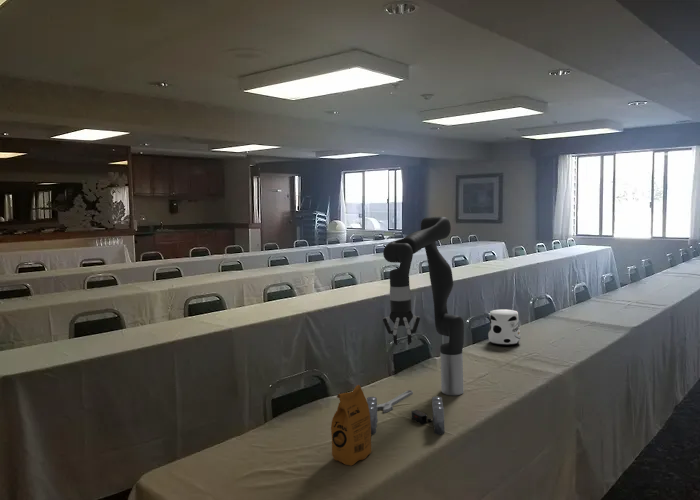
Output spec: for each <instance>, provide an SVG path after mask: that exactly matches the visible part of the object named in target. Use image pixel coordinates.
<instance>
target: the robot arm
mask: <svg viewBox="0 0 700 500" xmlns="http://www.w3.org/2000/svg"><path fill="white" fill-rule="evenodd" d="M451 229H452V228H451V223H450V220H449V218H448V217H445V216H430V217H423V218H422V220H421V222H420V230H417V231H414V232H412V233H409V234H408V235H406V236H404V237H403V238H400V239H397V240H396V239H395V240H393V241H391V242H389V243H388V244H386V245H385V246H384V249H383V255H382V256H383V258H384V260H385V261H387V262H389V263H394V264H395V263H398V264H399V266H398V268H394V269H391V270H390V272H389V304H390V314H389V315H388V316H383V318H382V322H383V324H384V327H385V329H386V332H387V333H388V334H390V335H392V337H393V338H392V339H393V344H394V345H395V346H399V345H398V334H397V333H398V328H399V327H401V326H402V327H405V329H406V332H407V346H410V345H411V343H412V335H413V334H415V333H417V331H418V327H419V323H420V320H421V317H420V315H417V316H416V315H415V314H413V313H412V295H411V287H410V286H411V285H410V271H411V266H412V261H413V256H414V254H416V253H417V252H419V251H421V250H422V249H424V251H425V253H426V260H427V266H428V267H427V268H428V274H429V280H430V286H431V291H432V299H433V308H434V309H433V312H434V327H435V330H436V332H437V333H438V334H439V335H441V336H443V337H449V338H448V339H449V340H448V342H446V343H442V344H441V345H440V348H439V349H440V350H439V351H440V353H439V354H440V381H441V382H440V384H441V385H440V386H441V393H442V394H443V395H447V396H459V395H462V394H464V361H463V359H464V358H463V357H464V356H463V348H464V346H465V345H464V343H465V340H464V339H465V323H464V319H463V318H462V316H460V315H456V314H450V313H449V312H448V300H449V297H450V294H451V292H452V290H453V287H454V279H453V272H452V268H451V265H450V264H449V262H448V261H447V260H446V259H445V257H444V256H443V255H442V254H441V252H440V250H439V249H438V247H437V243H436V242H438V241H441V240H444V239H446V238H448V237H449V236H450V234H451ZM412 319H413V322H414V324H413V327H412V328H411V326H410V324H409V323H410V322H411V321H412ZM390 320H391V322H393V329H392V328H391V326H390V324H389V323H390Z"/></svg>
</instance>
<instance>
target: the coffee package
mask: <svg viewBox="0 0 700 500" xmlns="http://www.w3.org/2000/svg"><path fill="white" fill-rule="evenodd" d="M336 398H337V399H338V400H339V403H338V406H337V410H336V411H335V413H334V415H333V417H332V419H331V425H330V426H331V427H330V431H331V434H330V435H331V456H332V458H333V460H334V461H338V462H339V463H342V464H344V465H346V466H353V465H355V464H356V463H357V462H358V461H362V460H363V461H364V460H365V459H366V458H367V457H368V456H369V455H370V454H372V434H371V423H370V413H369V407H368V403H367V398H366V397H365V394H364V392H363V389H362V387H361V385H360V384H357V385H356V386H355V387H354V388H353V390H352V391H350V392H343V393H338V394H337V395H336Z"/></svg>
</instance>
